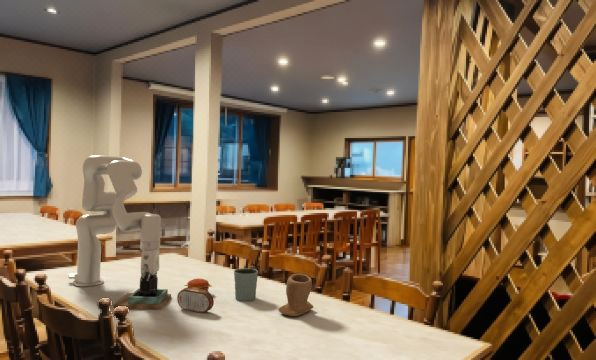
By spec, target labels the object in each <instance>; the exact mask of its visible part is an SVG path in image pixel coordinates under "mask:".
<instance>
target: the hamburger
mask: <svg viewBox="0 0 596 360" xmlns="http://www.w3.org/2000/svg"><path fill="white" fill-rule="evenodd" d="M183 287H189V288H195V289H201V290H206V291H208V292H209V290H210V289H209V287H210V288H211V287H213V285H212V284H211V283H209V281H208V279H204V278H193V279H191V280H189V281H187V283H186V284H184V285H183Z"/></svg>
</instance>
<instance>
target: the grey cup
mask: <svg viewBox="0 0 596 360" xmlns="http://www.w3.org/2000/svg"><path fill="white" fill-rule="evenodd" d="M258 275H259V271H258V270H257V269H255V268H247V267H244V268H237V269H235V270H233V276H234V289H235V292H234V293H235V294H234V295H235V296H234V297H235V300H236V301H238V302H243V303H247V302H249V303H250V302H253V301H255V300H256V298H257V297H256V296H257V286H258V285H257V284H258Z"/></svg>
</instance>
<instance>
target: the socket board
mask: <svg viewBox="0 0 596 360" xmlns="http://www.w3.org/2000/svg"><path fill="white" fill-rule="evenodd" d="M139 289H140V287H139V288H137V289H136V290H135V291H134V292H127V293H125V294H124V295H123V296H122V297H120V298H119V299H118V300H117V301H116V302H114V303H113V304H112V309H113V308H116V307H118V306H126V307H128V308H129V309H128V310H152V311H153V310H156V311H161V310H162V309H163V308H164V306H165V305H166V304H167V303H168V302H169V300H170V299H171V298H172V293H169V292H168V291H169V290H168V288H167V289H166V288H157V297H139Z"/></svg>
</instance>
